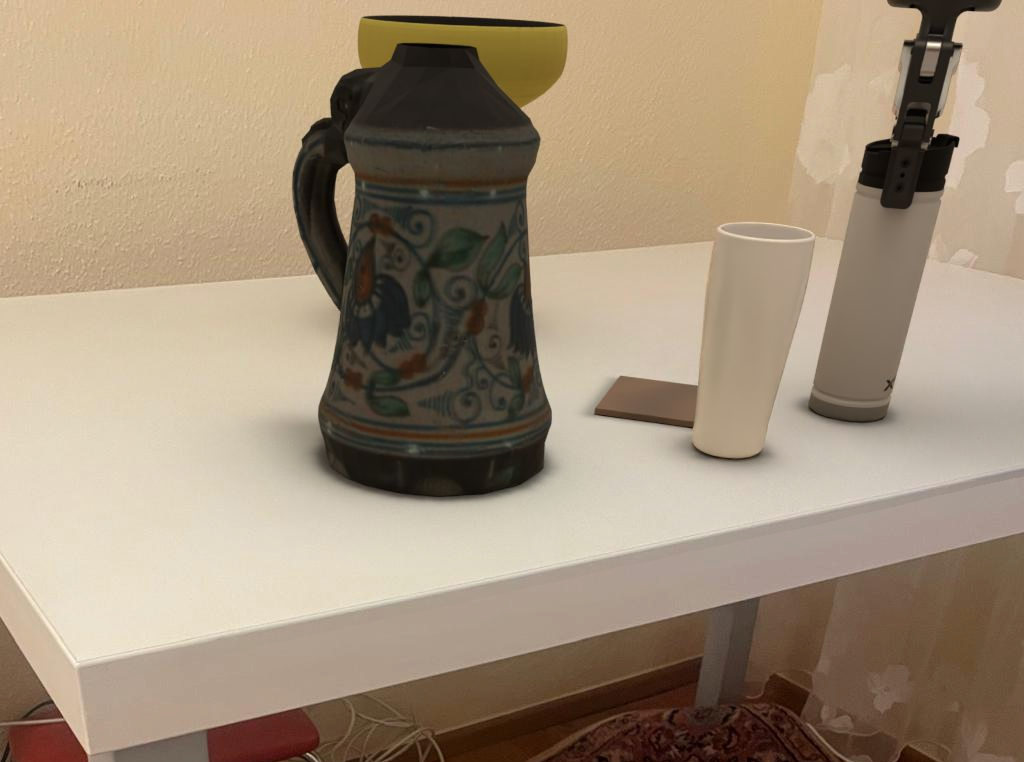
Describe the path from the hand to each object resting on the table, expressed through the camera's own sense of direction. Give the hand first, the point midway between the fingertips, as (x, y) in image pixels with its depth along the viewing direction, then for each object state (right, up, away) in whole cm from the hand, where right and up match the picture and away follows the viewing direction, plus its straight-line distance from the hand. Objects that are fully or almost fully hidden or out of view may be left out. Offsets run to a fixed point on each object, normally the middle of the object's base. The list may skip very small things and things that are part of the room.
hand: (895, 200), depth 89 cm
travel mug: (0, -13, +9) cm, 16 cm away
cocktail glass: (-33, +1, +27) cm, 43 cm away
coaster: (-15, -12, +9) cm, 22 cm away
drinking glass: (-13, -19, 0) cm, 23 cm away
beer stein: (-36, -20, -3) cm, 41 cm away
